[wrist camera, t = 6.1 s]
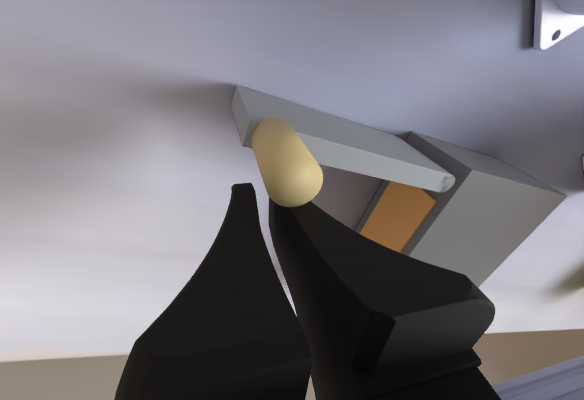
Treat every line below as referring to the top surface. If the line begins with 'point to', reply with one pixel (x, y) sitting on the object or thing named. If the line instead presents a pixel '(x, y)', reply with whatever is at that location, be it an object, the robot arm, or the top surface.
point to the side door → (322, 149)
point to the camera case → (459, 211)
